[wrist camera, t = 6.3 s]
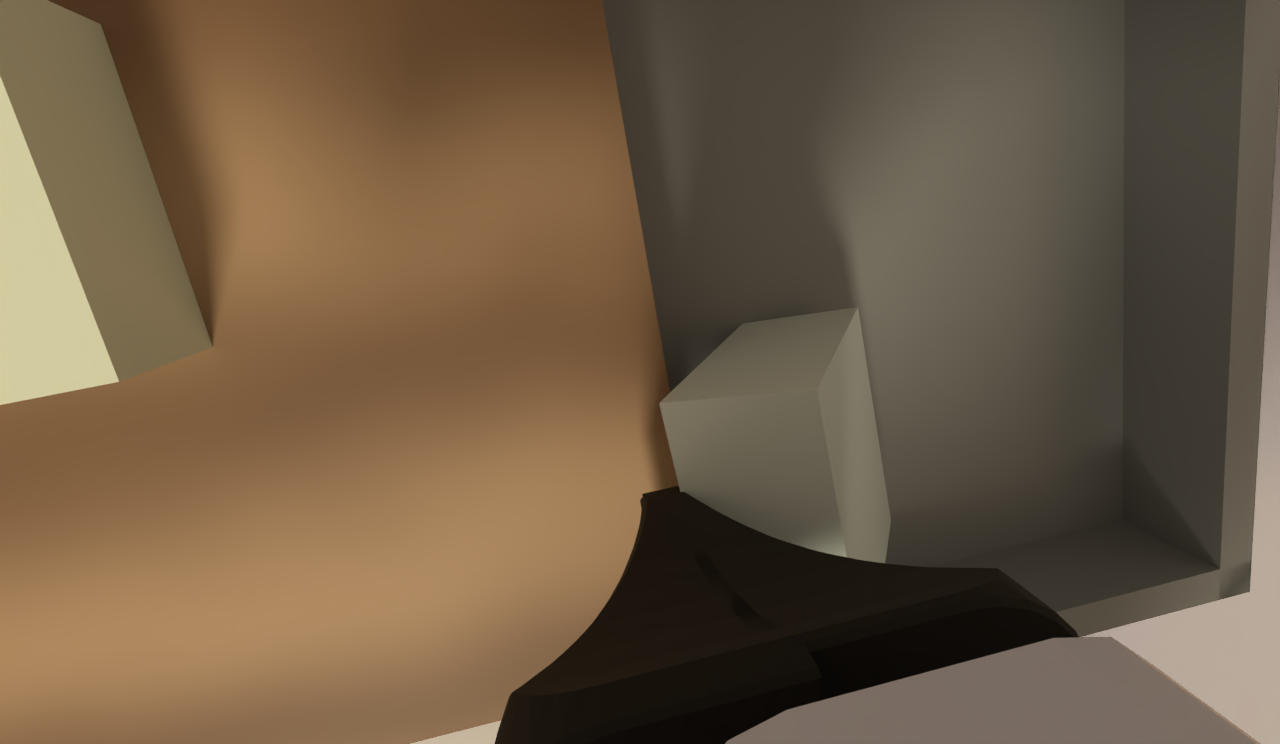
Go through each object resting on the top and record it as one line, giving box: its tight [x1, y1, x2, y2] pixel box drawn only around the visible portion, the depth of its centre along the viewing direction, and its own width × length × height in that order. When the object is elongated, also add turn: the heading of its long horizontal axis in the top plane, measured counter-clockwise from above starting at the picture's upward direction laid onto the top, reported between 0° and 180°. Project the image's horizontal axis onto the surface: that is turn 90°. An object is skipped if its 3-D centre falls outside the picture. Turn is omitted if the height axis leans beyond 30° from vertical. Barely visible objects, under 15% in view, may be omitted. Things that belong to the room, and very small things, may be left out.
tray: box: [602, 0, 1280, 637], centre depth 14 cm, size 17×12×3 cm
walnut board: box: [0, 0, 679, 744], centre depth 13 cm, size 14×14×3 cm
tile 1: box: [659, 307, 891, 563], centre depth 13 cm, size 5×5×2 cm
